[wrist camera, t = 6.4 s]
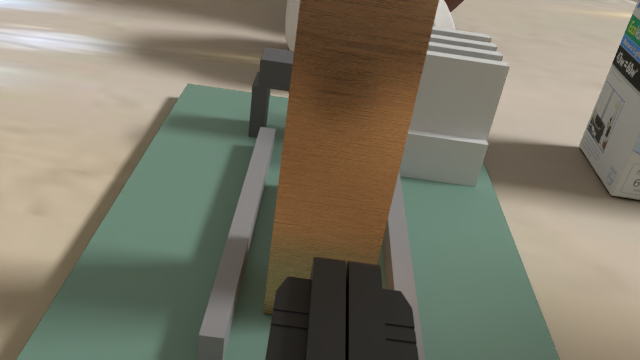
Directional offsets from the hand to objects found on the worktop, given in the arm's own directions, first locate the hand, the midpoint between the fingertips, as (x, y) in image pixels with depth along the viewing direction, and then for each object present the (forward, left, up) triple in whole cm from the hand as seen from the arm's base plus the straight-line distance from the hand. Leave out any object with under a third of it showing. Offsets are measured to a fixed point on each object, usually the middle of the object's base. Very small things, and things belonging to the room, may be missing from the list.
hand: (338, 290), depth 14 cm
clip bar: (0, -10, -6) cm, 12 cm away
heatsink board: (0, -13, -7) cm, 15 cm away
